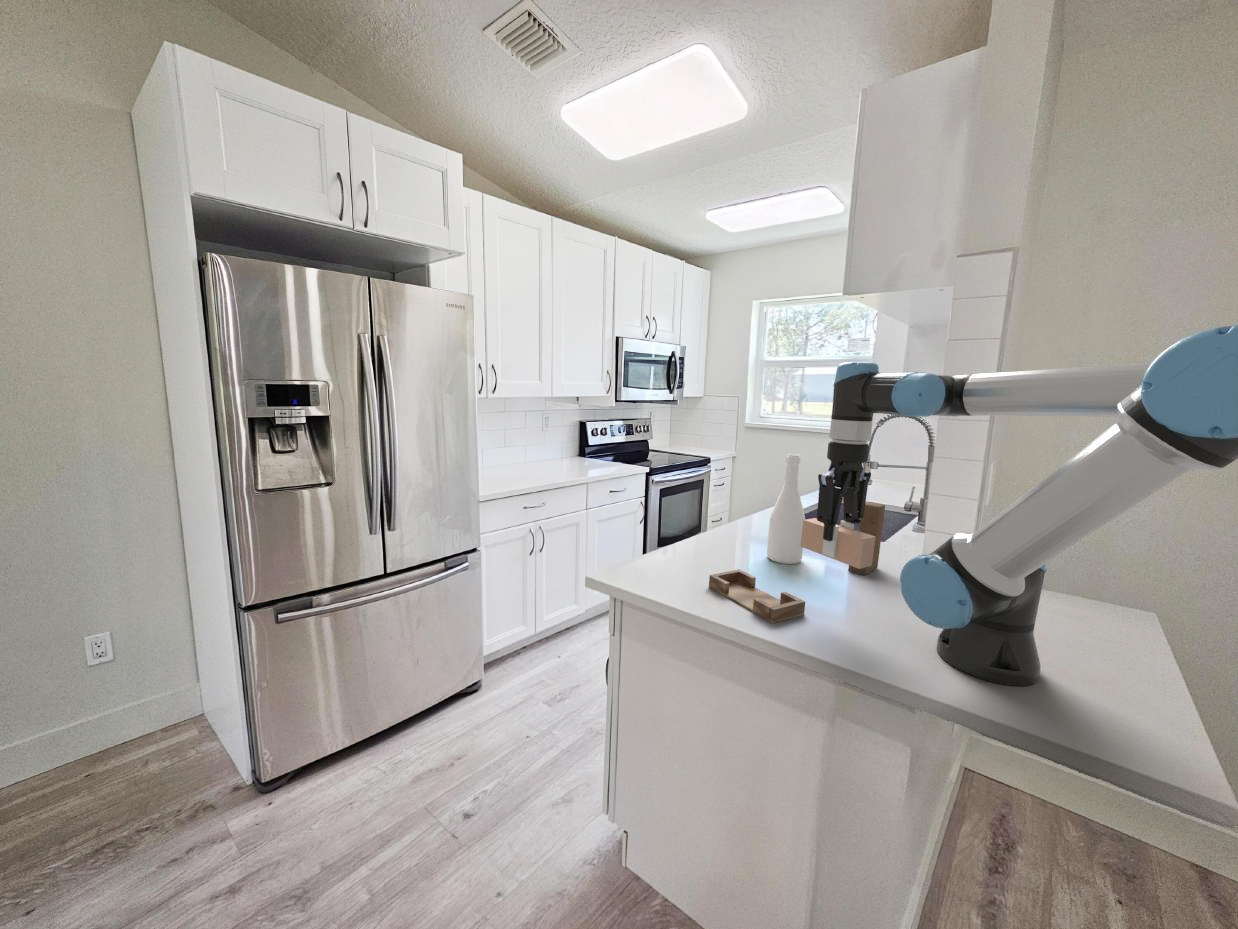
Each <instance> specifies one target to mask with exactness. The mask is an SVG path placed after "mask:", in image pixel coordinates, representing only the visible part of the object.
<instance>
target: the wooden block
mask: <svg viewBox="0 0 1238 929" xmlns="http://www.w3.org/2000/svg"><path fill="white" fill-rule="evenodd" d="M885 511H886V505H885V504H883V503H877V502H872V501H868V502H865V510H864V516H863V518H862V519H860V520H861V522H860V524H859V532H862V533H866V534H869V535H872V536H875V537H876V539H875V546H874V553H873V560H872V566H869V567H865V568H861V569H858V568H856V567H853V566H851V565H848V571H849V572H852V573H855V574H859V575H862V576H866V575H868V574H869V573H871V572H873V571H875V570H876V569H877V568H878V567H879V566H878V564H879V560H880V558H879V557H880V550H881V542H882V534H883V527H884V526H883V525H884V518H885Z"/></svg>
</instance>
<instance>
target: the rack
mask: <svg viewBox="0 0 1238 929" xmlns="http://www.w3.org/2000/svg"><path fill="white" fill-rule="evenodd" d="M756 578H757V577H756V576H754V575H752V574H750V573H748V572H746V571H743V570H741V569H740V568H738V569H735V570H734V569H733V570H729V571H723V572H719V573H714V574H709V578H708V579H709V580H708V588H709V589H712V590H713V591H715V592H717V593H719V594H720V595H722V596H724V597H725V598H727V599H729V600H730V601H733V602H734V603H736V604H737V605H739V606H741V607H743V608H745V609H746V610H748V611H750V612H751V613H753V614H755V615H757V616H759V617H760V618H762V619H764V620H765V621H767V622H769V623H770V624H775V623H779V622H783V621H787V620H790V619H793V618H797V617H802V616H803V615H804V616H805V610H806V601H805V600H803V599H801V598H799V597H797V596H795V595H794V594H791V593H789V592H786V591H782V592H781V591H780V599H778V598H777V597H775V596H773V595H771V594H769V593H767V592H765V591H763V590H761V589H759V588H757V587H756V582H757V581H756Z"/></svg>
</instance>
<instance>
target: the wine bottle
mask: <svg viewBox="0 0 1238 929" xmlns="http://www.w3.org/2000/svg"><path fill="white" fill-rule="evenodd" d="M785 462H786V466H785V476H784V483H783V486H782V489H781V491H780V493H779V495H778V498H777V500H776V502H775V504H774V505H773V506H774V507H773V509H772V511H771V512H770V517H769V522H768V523H769V525H768V537H767V547H766V556H767V558H768V559H769V560H771V561H773V562H776V563H778V564H785V565H794V564H799V563H801V561H802V559H803V550H804V548H803V547H800V546H801V537H802V528H803V520H806V516H805V512H804V507H803V504H802V499H801V496H800V495H801V494H800V492H799V485H798V482H799V481H798V480H799V466H800V463H801V456H800V454H796V453H788V454H787V455H786V460H785Z"/></svg>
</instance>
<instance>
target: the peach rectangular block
mask: <svg viewBox="0 0 1238 929" xmlns="http://www.w3.org/2000/svg"><path fill="white" fill-rule="evenodd" d="M836 525H837V526H839V533H838V542H837V551H836V557H834V558H833V557H830V556H827V555H825V554H822V550H823V541H824V539H823V533H824V523H821V522H820V521H817V517H814V518H808V519H806V518H805V520H803V528H802V537H801V546H800V547H803V549H805V550H809V551H812V552H814V553H817V554H819V555H822V556H824V557H827V558H830V559H833V560H834V561H835V560H836V561H838V562H841V563H843V564H846V565H848V566H849V565H851V566H853V567H856V568H858V569H861V568H865V567H869V566H872V560H873V553H874V546H875V539H876V537H875V536H872V535H869V534H866V533H862V532H859V531H858V530H855V529H854V530H853V529H849V528H846V527H843V526H840V524H836Z"/></svg>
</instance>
